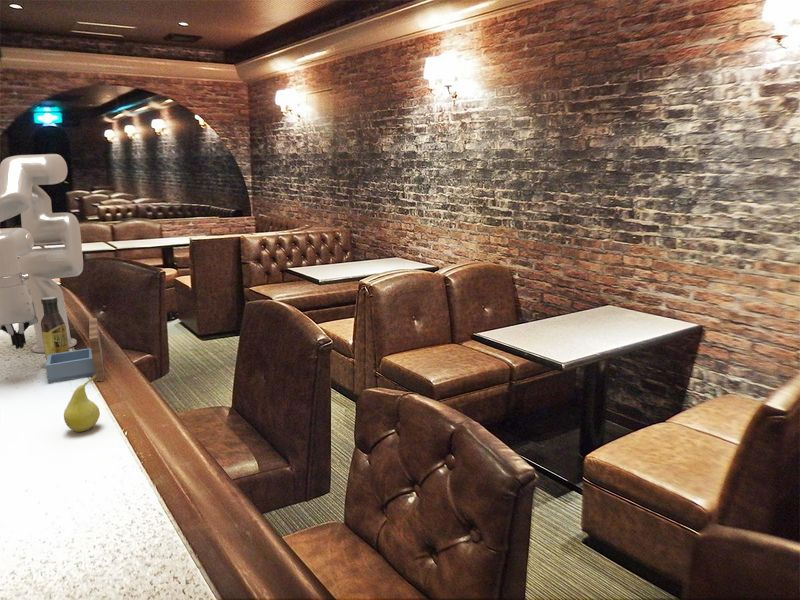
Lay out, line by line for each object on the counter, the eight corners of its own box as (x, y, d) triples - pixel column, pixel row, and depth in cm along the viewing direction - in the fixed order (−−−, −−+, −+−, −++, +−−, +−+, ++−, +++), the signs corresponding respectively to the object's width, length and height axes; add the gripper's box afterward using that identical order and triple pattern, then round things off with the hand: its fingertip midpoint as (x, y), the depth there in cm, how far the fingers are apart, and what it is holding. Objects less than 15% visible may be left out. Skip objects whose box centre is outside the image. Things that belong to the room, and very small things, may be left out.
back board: (95, 357, 189) (89, 318, 186) (102, 356, 190) (96, 317, 187) (96, 382, 168) (89, 338, 165) (104, 380, 168) (97, 337, 166)
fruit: (67, 427, 140) (58, 375, 137) (104, 420, 143) (96, 369, 140) (65, 438, 134) (55, 385, 131) (104, 431, 137) (95, 379, 134)
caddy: (50, 371, 178) (47, 354, 177) (95, 364, 183) (93, 347, 182) (48, 383, 168) (45, 365, 167) (96, 375, 173) (93, 358, 172)
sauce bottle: (60, 368, 180) (49, 300, 176) (42, 368, 181) (29, 300, 177) (76, 361, 186) (65, 295, 182) (58, 360, 188) (46, 295, 183)
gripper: (39, 274, 171) (51, 338, 176) (-26, 282, 165) (-11, 347, 170) (37, 280, 165) (50, 346, 170) (-30, 288, 158) (-15, 356, 164)
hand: (20, 347), depth 170 cm, fingers closed
